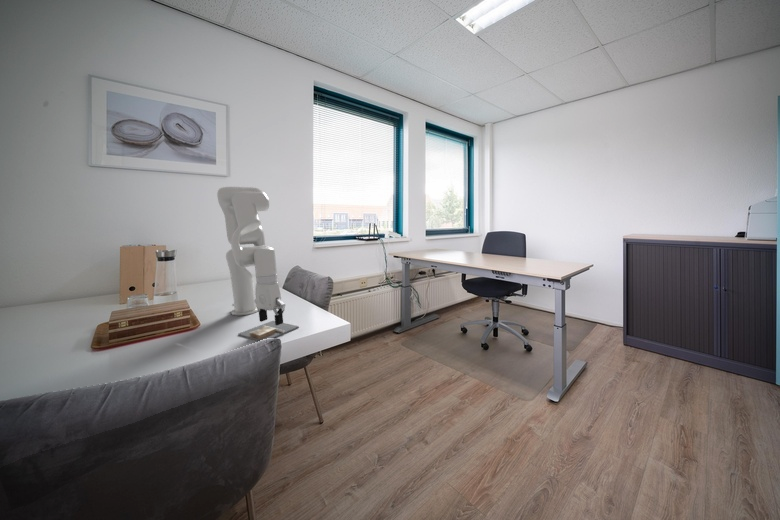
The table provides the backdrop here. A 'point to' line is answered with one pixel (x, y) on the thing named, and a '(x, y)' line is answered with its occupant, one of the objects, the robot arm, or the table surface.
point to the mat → (280, 328)
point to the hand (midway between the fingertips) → (271, 322)
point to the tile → (262, 332)
